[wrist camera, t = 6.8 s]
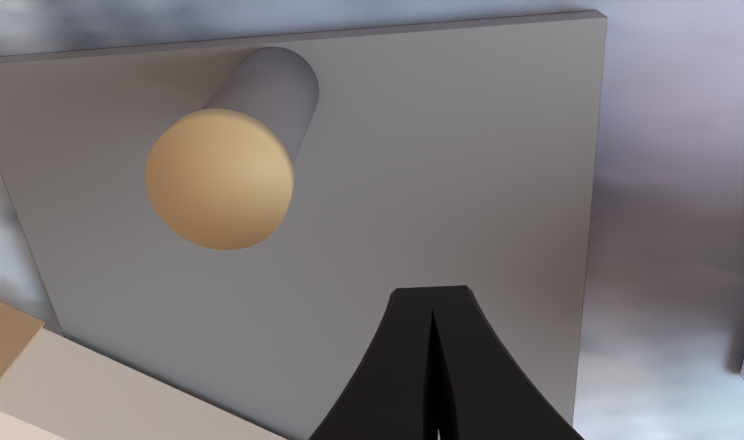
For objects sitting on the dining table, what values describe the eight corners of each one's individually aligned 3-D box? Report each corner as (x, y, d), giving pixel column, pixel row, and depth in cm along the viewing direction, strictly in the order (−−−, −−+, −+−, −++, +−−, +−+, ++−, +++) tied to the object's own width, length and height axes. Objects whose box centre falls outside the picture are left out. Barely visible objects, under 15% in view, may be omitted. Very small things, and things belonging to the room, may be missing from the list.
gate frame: (597, 6, 18) (713, 84, 11) (560, 483, 26) (611, 685, 20) (-22, 54, 19) (-250, 149, 12) (141, 491, 28) (59, 681, 21)
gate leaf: (310, 443, 24) (296, 529, 21) (288, 471, 25) (271, 557, 22) (-1, 301, 22) (-70, 374, 18) (-14, 336, 22) (-84, 412, 19)
